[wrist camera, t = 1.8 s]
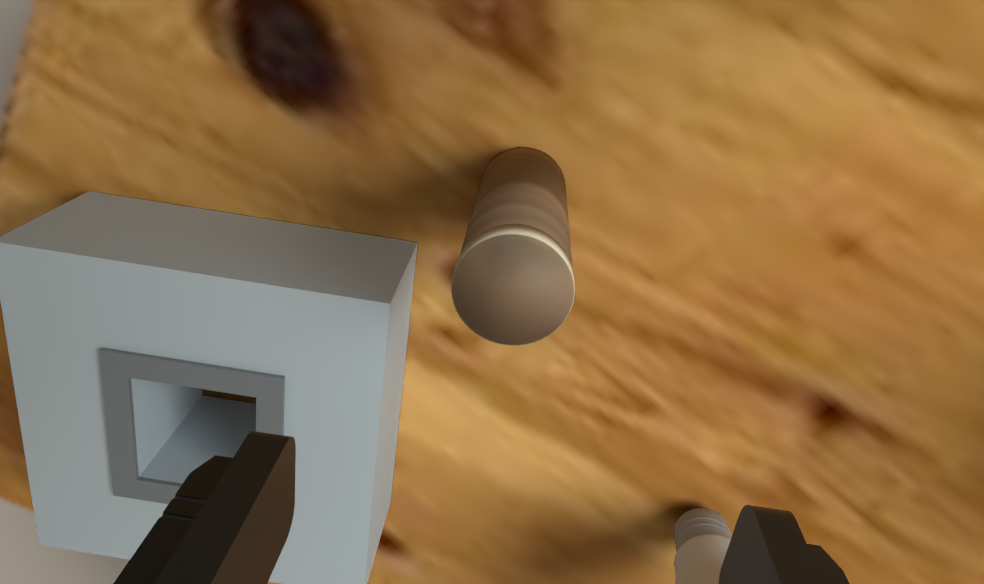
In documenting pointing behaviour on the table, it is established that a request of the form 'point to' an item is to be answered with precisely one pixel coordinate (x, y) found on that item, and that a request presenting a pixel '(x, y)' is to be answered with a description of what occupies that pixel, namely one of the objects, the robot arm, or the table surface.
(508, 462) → the table surface
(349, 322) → the socket block
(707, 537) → the lightbulb
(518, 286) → the dowel
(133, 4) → the table surface
